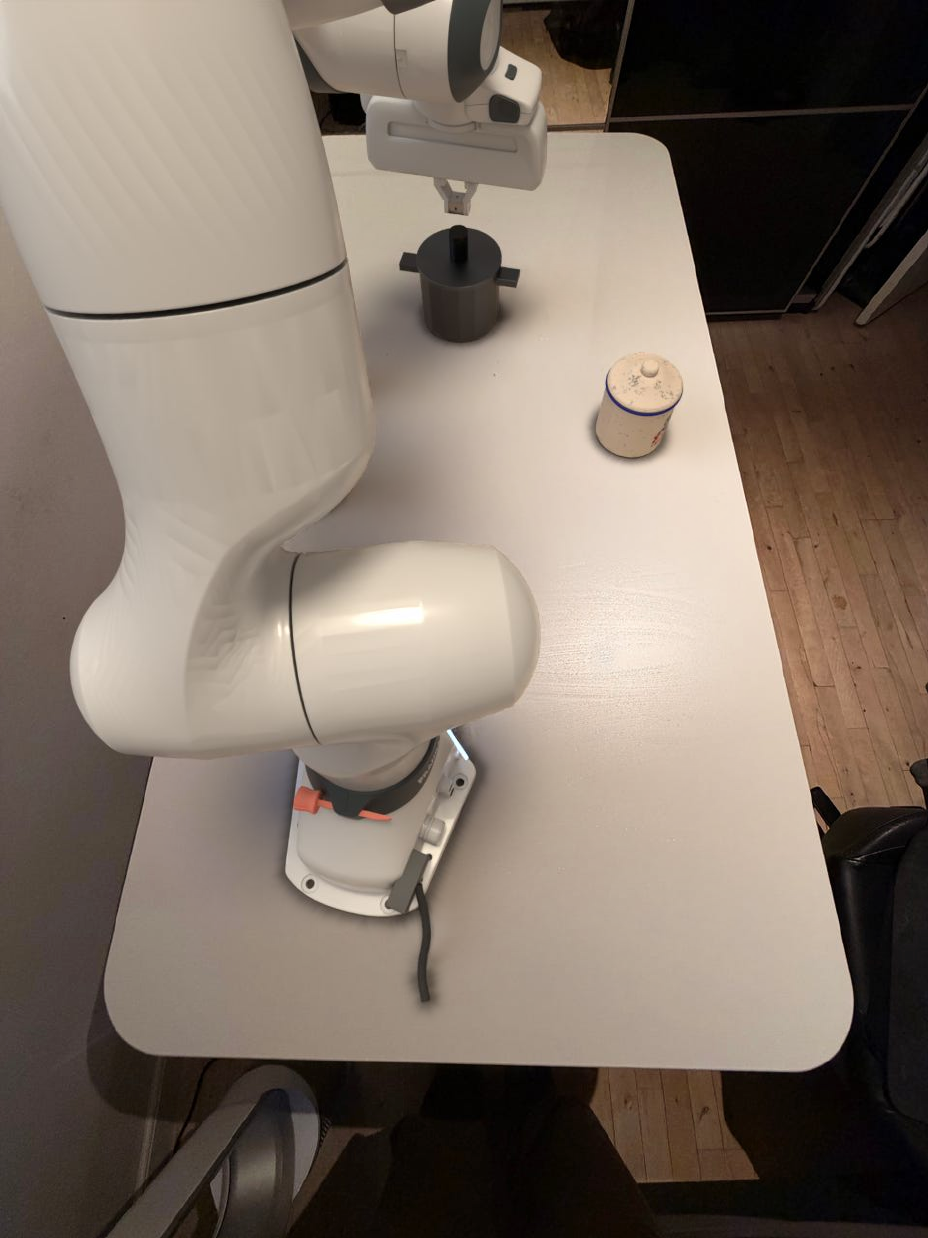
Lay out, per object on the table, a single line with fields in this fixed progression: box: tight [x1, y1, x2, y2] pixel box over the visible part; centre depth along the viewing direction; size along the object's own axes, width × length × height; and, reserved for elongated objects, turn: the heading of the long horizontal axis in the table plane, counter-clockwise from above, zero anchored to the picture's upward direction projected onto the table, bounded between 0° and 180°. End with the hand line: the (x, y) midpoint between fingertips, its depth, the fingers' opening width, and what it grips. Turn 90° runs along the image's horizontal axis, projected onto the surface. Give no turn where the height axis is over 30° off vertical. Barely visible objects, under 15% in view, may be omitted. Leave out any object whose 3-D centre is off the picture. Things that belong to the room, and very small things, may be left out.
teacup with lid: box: [595, 351, 684, 458], centre depth 78 cm, size 12×9×12 cm
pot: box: [398, 251, 521, 344], centre depth 87 cm, size 11×16×8 cm, turn 77°
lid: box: [416, 224, 503, 291], centre depth 82 cm, size 11×11×5 cm
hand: (457, 211), depth 77 cm, fingers closed
